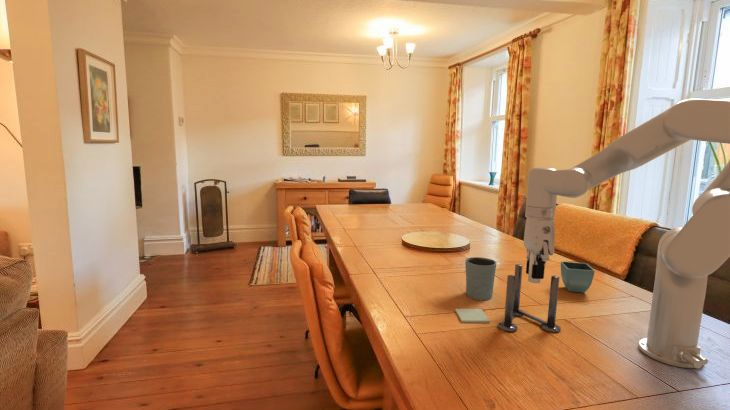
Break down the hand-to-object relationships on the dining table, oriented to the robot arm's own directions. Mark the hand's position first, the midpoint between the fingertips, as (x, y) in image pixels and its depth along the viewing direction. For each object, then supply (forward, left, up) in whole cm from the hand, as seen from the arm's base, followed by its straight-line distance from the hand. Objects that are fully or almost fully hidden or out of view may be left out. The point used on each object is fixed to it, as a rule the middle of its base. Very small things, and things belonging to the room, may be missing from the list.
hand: (534, 275), depth 110 cm
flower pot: (+25, -27, -14) cm, 39 cm away
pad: (+2, +16, -14) cm, 22 cm away
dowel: (0, 0, -2) cm, 2 cm away
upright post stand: (0, +2, -14) cm, 14 cm away
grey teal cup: (+19, +9, -14) cm, 26 cm away
